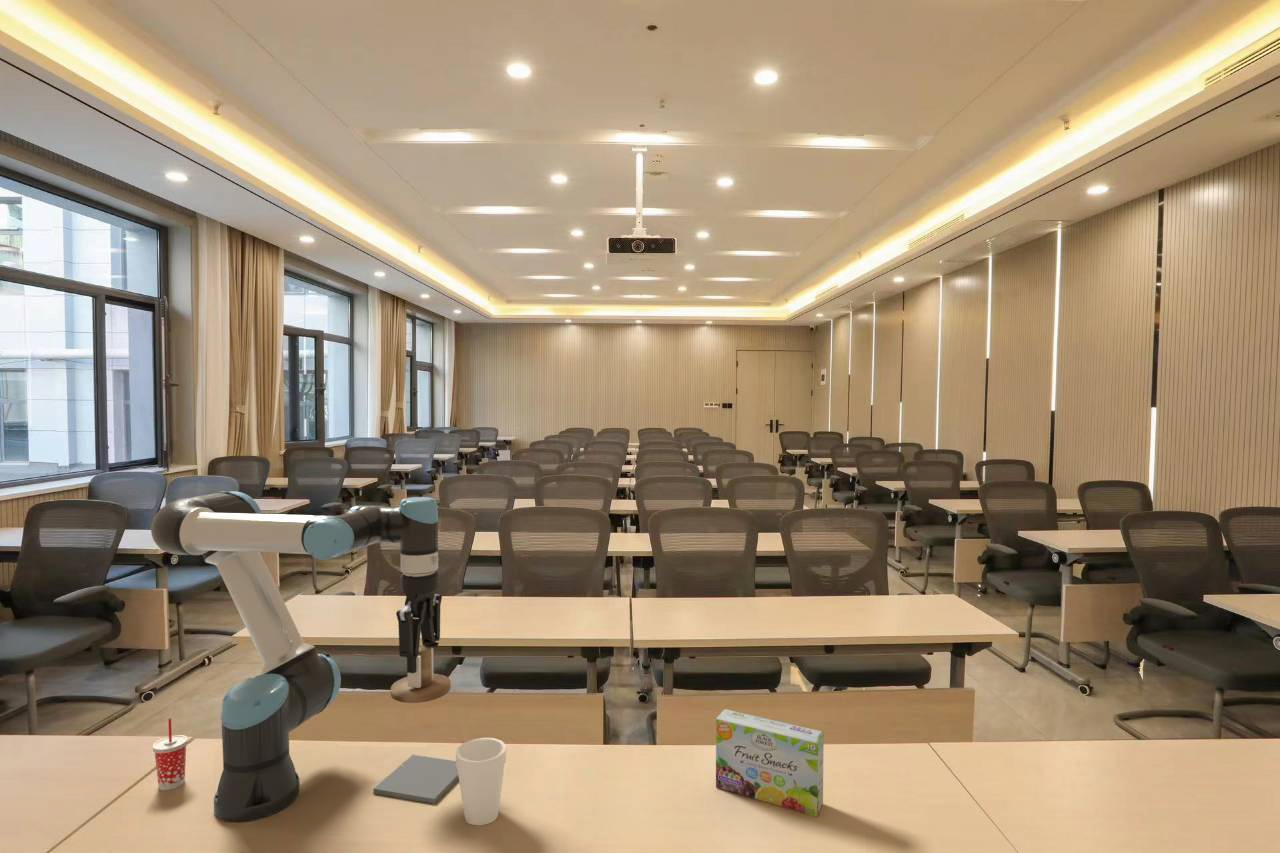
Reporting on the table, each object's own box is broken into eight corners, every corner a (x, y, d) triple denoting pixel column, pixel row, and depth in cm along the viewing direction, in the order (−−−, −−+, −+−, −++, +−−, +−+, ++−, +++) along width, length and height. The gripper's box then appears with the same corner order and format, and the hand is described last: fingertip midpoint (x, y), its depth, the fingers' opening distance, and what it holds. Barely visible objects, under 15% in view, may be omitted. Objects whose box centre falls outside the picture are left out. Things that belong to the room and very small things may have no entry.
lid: (378, 698, 142) (378, 656, 142) (412, 676, 154) (412, 637, 153) (430, 706, 139) (430, 663, 139) (461, 682, 150) (461, 642, 150)
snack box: (714, 789, 144) (714, 718, 143) (724, 776, 148) (724, 707, 148) (817, 818, 134) (818, 741, 133) (824, 803, 139) (825, 729, 138)
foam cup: (512, 802, 139) (512, 739, 138) (498, 831, 130) (497, 763, 129) (466, 800, 140) (465, 736, 139) (449, 828, 130) (448, 760, 130)
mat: (373, 793, 142) (373, 788, 142) (412, 759, 156) (412, 754, 156) (434, 803, 138) (434, 798, 138) (469, 767, 152) (469, 763, 152)
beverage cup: (186, 788, 144) (184, 721, 144) (151, 795, 142) (148, 727, 141) (191, 773, 150) (189, 709, 149) (156, 780, 147) (154, 715, 146)
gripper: (412, 583, 136) (413, 701, 137) (456, 563, 152) (457, 668, 153) (378, 581, 138) (380, 696, 139) (426, 561, 154) (427, 665, 155)
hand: (420, 681), depth 146 cm, fingers closed on lid, 4 cm apart
